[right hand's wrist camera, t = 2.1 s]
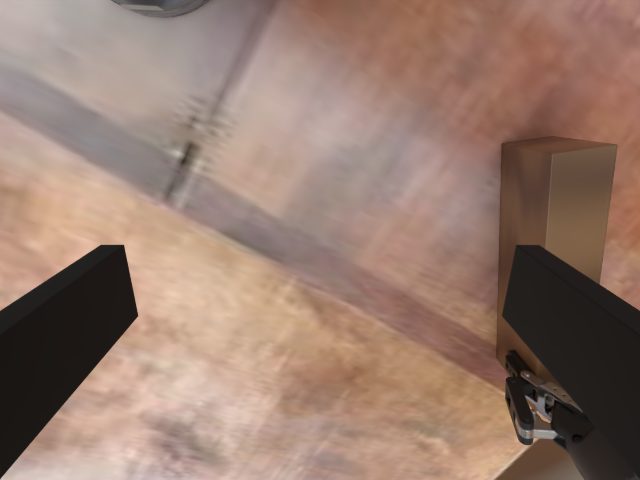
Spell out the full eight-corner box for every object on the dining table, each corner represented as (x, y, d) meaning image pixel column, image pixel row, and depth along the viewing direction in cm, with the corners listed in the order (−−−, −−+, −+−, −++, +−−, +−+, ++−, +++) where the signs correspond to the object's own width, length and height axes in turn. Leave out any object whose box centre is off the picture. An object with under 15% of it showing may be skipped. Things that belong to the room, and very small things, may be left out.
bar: (501, 143, 38) (552, 153, 30) (552, 136, 38) (617, 144, 29) (496, 357, 47) (533, 411, 39) (537, 352, 47) (583, 405, 38)
